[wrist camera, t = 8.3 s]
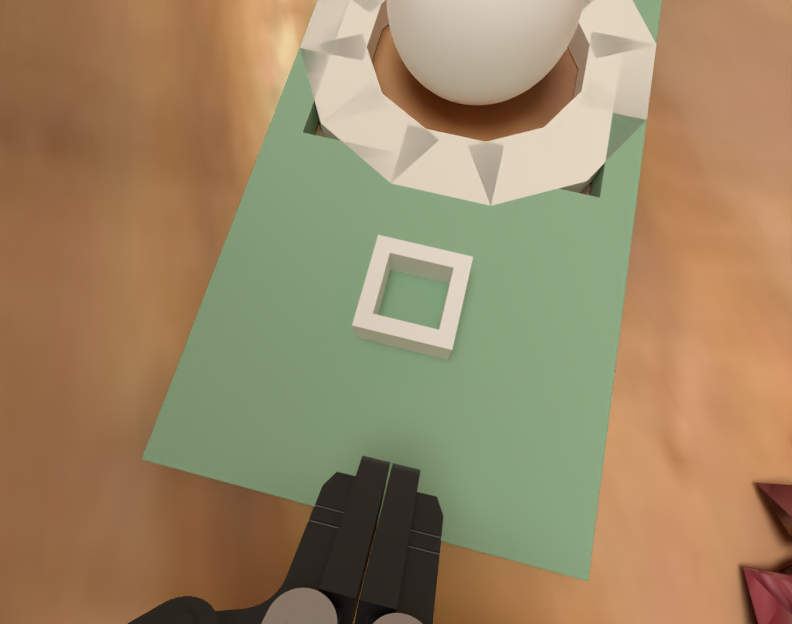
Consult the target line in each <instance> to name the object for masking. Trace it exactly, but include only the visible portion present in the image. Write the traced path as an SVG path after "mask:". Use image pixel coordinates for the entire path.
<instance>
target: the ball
mask: <svg viewBox="0 0 792 624" xmlns="http://www.w3.org/2000/svg"><path fill="white" fill-rule="evenodd" d="M583 2H584V0H387V14H388V21H389V27H390V32H391V35H392V38H393V41H394V44H395V47H396V49H397V51H398V54H399V56H400V58H401V59H402V61H403V63H404V64H405V66H406V67H407V69H408V70H409V71H410V73H411V74H412V75H413V76H414V77H415V78H416V79H417V80H418V81H419V82H420V83H421V84H422V85H423V86H424V87H425V88H427V89H428V90H430V91H431V92H433V93H434V94H436V95H438V96H440V97H441V98H443V99H446V100H449V101H451V102H455V103H459V104H465V105H489V104H495V103H500V102H503V101H506V100H509V99H511V98H513V97H516V96H518V95H520V94H522V93H523V92H525V91H527V90H528V89H530V88H531V87H533V86H534V85H535V84H536V83H538V82H539V81H540V80H542V79H543V78H544V77H545V76H546V75H547V74H548V72H549V71H550V70H551V69H552V68H553V67H554V66H555V65H556V64H557V62H558V61H559V59H560V58H561V56H562V55H563V53H564V52H565V51H566V49H567V47H568V45H569V43H570V41H571V39H572V37H573V35H574V33H575V31H576V28H577V25H578V22H579V19H580V16H581V12H582V7H583Z"/></svg>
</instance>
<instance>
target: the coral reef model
mask: <svg viewBox="0 0 792 624" xmlns="http://www.w3.org/2000/svg"><path fill="white" fill-rule="evenodd" d="M756 484H757V486H758V487H759V489H760V490H761V492H762V493H763V495H764V496H765V498H766V499H767V501H768V502H769V504H770V505H771V507H772V508H773V510H774V511H775V513H776V514H777V516H778V518H779V519H780V521H781V522H782V524H783V525H784V527H785V528H786V530H787V531H788V533H789V534H790V536H791V537H792V485H780V484H766V483H756ZM743 569H744V573H745V577H746V581H747V585H748V589H749V593H750V597H751V601H752V604H753V608H754V612H755V616H756V620H757V624H792V565H790V566H788V567H786V568H784V569H782V570H780V573H776V572H770V571H765V570H759V569H753V568H748V567H743Z"/></svg>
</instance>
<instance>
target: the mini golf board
mask: <svg viewBox="0 0 792 624" xmlns="http://www.w3.org/2000/svg"><path fill="white" fill-rule="evenodd" d="M661 3H662V0H584V2H583V7H582V12H581V16H580V19H579V22H578V25H577V28H576V31H575V33H574V35H573V37H572V39H571V41H570V43H569V45H568V48H569V51H570V53H571V55H572V57H573V59H574V61H575V63H576V65H577V67H578V74H577V80H576V85H575V91H574V96H573V100H572V101H571V102H570V103H569V104H568V105H567V106H566V107H565V108H564V109H562V110H561V111H560V112H559V113H558V114H557V115H556V116H555V117H554V118H553V119H552V120H551V121H550V122H549V123H548V124H547V125H546V126H545V127H544V128H540V129H535V130H531V131H527V132H523V133H519V134H515V135H511V136H507V137H503V138H499V139H495V140H491V141H487V142H485V141H480V140H476V139H471V138H466V137H462V136H457V135H452V134H448V133H443V132H438V131H434V130H429V129H425V128H424V127H423V126H422V125H420V124H419V123H418V122H417V121H416V120H414V119H413V118H412V117H411V116H409V115H408V114H407V113H406V112H404V111H403V110H402V109H401V108H400V107H398V106H397V105H396V104H395V103H393V102H392V101H391V100H390V99H389V98H387V97H386V96H385V95H384V94H382V91H381V88H380V85H379V82H378V79H377V76H376V73H375V70H374V67H373V64H372V59H373V56H374V53H375V50H376V47H377V44H378V41H379V38H380V35H381V32H382V29H383V28H385V27H386V26H387V25H388V24H389V21H388V14H387V0H318V1H317V4H316V7H315V9H314V12H313V14H312V17H311V20H310V22H309V25H308V27H307V30H306V33H305V35H304V38H303V40H302V43H301V46H300V48H299V51H298V53H297V56H296V59H295V61H294V64H293V66H292V69H291V72H290V74H289V77H288V79H287V82H286V85H285V87H284V90H283V92H282V95H281V98H280V100H279V103H278V105H277V108H276V111H275V113H274V116H273V118H272V121H271V124H270V126H269V129H268V132H267V134H266V137H265V139H264V142H263V145H262V147H261V150H260V152H259V155H258V158H257V160H256V163H255V165H254V168H253V171H252V173H251V176H250V178H249V181H248V184H247V186H246V189H245V191H244V194H243V197H242V199H241V202H240V204H239V207H238V210H237V212H236V215H235V217H234V220H233V223H232V225H231V228H230V230H229V233H228V236H227V238H226V241H225V243H224V246H223V249H222V251H221V254H220V256H219V259H218V262H217V264H216V267H215V269H214V272H213V275H212V277H211V280H210V283H209V285H208V288H207V290H206V293H205V296H204V298H203V301H202V303H201V306H200V309H199V311H198V314H197V316H196V319H195V322H194V324H193V327H192V329H191V332H190V335H189V337H188V340H187V342H186V345H185V348H184V350H183V353H182V355H181V358H180V361H179V363H178V366H177V368H176V371H175V374H174V376H173V379H172V381H171V384H170V387H169V389H168V392H167V394H166V397H165V400H164V402H163V405H162V407H161V410H160V413H159V415H158V418H157V420H156V423H155V426H154V428H153V431H152V434H151V436H150V439H149V441H148V444H147V447H146V449H145V452H144V454H143V457H142V460H146V461H149V462H153V463H157V464H160V465H164V466H168V467H171V468H175V469H179V470H182V471H186V472H190V473H193V474H197V475H201V476H204V477H208V478H212V479H215V480H219V481H223V482H226V483H230V484H234V485H237V486H241V487H245V488H248V489H252V490H256V491H259V492H263V493H267V494H270V495H274V496H278V497H281V498H285V499H288V500H292V501H296V502H299V503H303V504H307V505H310V506H314V507H315V503H316V501H317V498H318V496H319V493H320V491H321V488H322V486H323V484H325V483H326V482H327V481H328V480H329V479H330V478H331V477H332V476H333V475H334V474H335V473H336V472H341V473H345V474H349V475H353V476H356V473H357V470H358V467H359V464H360V461H361V458H362V456H367V457H371V458H375V459H379V460H383V461H388V462H390V467H389V472H388V477H387V481H386V486H385V491H384V496H383V500H382V505H383V501H384V497H385V493H386V488H387V484H388V480H389V476H390V472H391V468H392V464H393V463H395V464H399V465H403V466H407V467H411V468H415V469H419V470H420V477H419V483H418V489H417V492H420V493H424V494H428V495H432V496H436V497H437V498H438V501H439V504H440V507H441V510H442V513H443V526H442V535H441V541H442V542H446V543H450V544H453V545H457V546H461V547H464V548H468V549H471V550H475V551H479V552H482V553H486V554H490V555H493V556H497V557H501V558H504V559H508V560H512V561H515V562H519V563H523V564H526V565H530V566H534V567H537V568H541V569H545V570H548V571H552V572H556V573H559V574H563V575H567V576H570V577H574V578H578V579H581V580H585V581H588V580H589V572H590V564H591V556H592V548H593V540H594V532H595V524H596V517H597V509H598V501H599V493H600V485H601V477H602V469H603V461H604V453H605V446H606V438H607V430H608V422H609V414H610V406H611V398H612V390H613V382H614V374H615V367H616V359H617V351H618V343H619V335H620V327H621V319H622V311H623V303H624V296H625V288H626V280H627V272H628V264H629V256H630V248H631V240H632V232H633V225H634V217H635V209H636V201H637V193H638V185H639V177H640V169H641V161H642V153H643V146H644V138H645V130H646V122H647V114H648V106H649V98H650V90H651V82H652V75H653V67H654V59H655V51H656V43H657V35H658V27H659V19H660V11H661ZM319 123H320V126H321V130H322V133H323V137H322V136H317V135H315V132H316V130H317V127H318V124H319ZM591 182H592V185H591V191H590V195H586V194H581V192H582V191H583V190H584V189H585V188H586V187H587V186H588V185H589V184H590V183H591ZM382 505H381V509H382ZM380 513H381V510H380ZM379 517H380V514H379ZM378 521H379V518H378ZM377 524H378V523H377Z"/></svg>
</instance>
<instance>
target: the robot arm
mask: <svg viewBox="0 0 792 624" xmlns="http://www.w3.org/2000/svg"><path fill="white" fill-rule="evenodd" d="M389 467H390V462H388V461H383V460H379V459H375V458H371V457H367V456H362V458H361V461H360V464H359V467H358V470H357V473H356V476H353V475H349V474H345V473H341V472H336V473H335V474H334V475H333V476H332V477H331V478H330V479H329V480H328V481H327V482H326V483H325V484H323V486H322V488H321V491H320V493H319V496H318V498H317V501H316V503H315V507H314V508H313V511H312V514H311V516H310V519H309V522H308V524H307V526H306V529H305V531H304V534H303V536H302V539H301V541H300V544H299V546H298V549H297V552H296V554H295V557H294V559H293V562H292V564H291V567H290V569H289V572H288V574H287V577H286V579H285V581H284V583H283V585H282V586H281V588H280V589H279V590H278V591H277V593H276V594H275V595H274V596H272V597H271V598H270V599H269V600H267V601H265V602H264V603H262V604H260V605H257V606H255V607H251V608H247V609H239V610H226V611H215V610H214V609H213V608H212V606H211V605H210V604H209V603H208V602H206V601H204V600H203V599H200V598H197V597H191V596H183V597H178V598H174V599H171V600H169V601H167V602H165V603H163V604H161V605H159V606H157V607H156V608H154V609H152V610H151V611H149V612H147V613H145V614H144V615H142V616H140V617H138V618H137V619H135V620H133V621H131V622H130V623H128V624H353V621H354V617H355V612H356V608H357V604H358V600H359V604H358V609H357V614H356V619H355V623H354V624H433V611H434V602H435V592H436V583H437V573H438V564H439V553H440V545H441V535H442V526H443V513H442V510H441V507H440V504H439V501H438V498H437V497H436V496H432V495H428V494H424V493H420V492H417V489H418V483H419V477H420V470H419V469H415V468H411V467H407V466H403V465H399V464H395V463H393V464H392V468H391V472H390V476H389V480H388V484H387V488H386V493H385V497H384V501H383V505H382V500H383V496H384V491H385V486H386V481H387V477H388V472H389ZM381 505H382V509H381ZM380 510H381V513H380ZM379 514H380V517H379ZM378 518H379V521H378ZM377 523H378V525H377ZM376 527H377V529H376ZM375 531H376V534H375ZM374 535H375V538H374ZM373 539H374V542H373ZM372 543H373V546H372ZM371 547H372V550H371ZM370 551H371V554H370ZM369 555H370V558H369ZM368 559H369V562H368ZM367 564H368V566H367ZM366 568H367V571H366ZM365 572H366V575H365ZM364 576H365V579H364ZM363 580H364V583H363ZM362 584H363V587H362ZM361 588H362V591H361ZM360 592H361V595H360ZM359 596H360V599H359Z"/></svg>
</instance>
